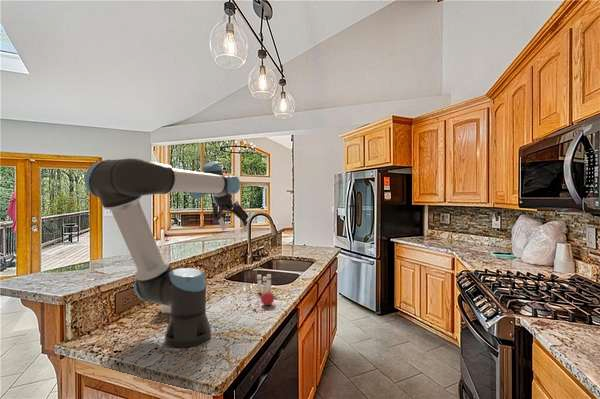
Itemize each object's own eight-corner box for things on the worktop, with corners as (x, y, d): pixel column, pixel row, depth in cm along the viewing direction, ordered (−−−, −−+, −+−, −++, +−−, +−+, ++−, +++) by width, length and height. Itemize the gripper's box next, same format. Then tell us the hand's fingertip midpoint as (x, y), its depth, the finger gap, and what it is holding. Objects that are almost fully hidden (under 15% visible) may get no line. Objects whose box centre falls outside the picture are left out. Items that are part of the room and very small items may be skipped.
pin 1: (261, 292, 159) (261, 275, 159) (257, 293, 159) (257, 275, 159) (261, 291, 161) (261, 274, 161) (257, 292, 161) (257, 274, 161)
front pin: (267, 295, 155) (267, 277, 155) (263, 295, 155) (262, 277, 155) (266, 294, 157) (266, 276, 157) (262, 294, 157) (262, 276, 157)
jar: (160, 308, 137) (160, 281, 137) (179, 305, 141) (179, 279, 141) (161, 314, 129) (161, 286, 129) (182, 311, 133) (182, 283, 133)
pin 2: (271, 292, 160) (271, 275, 160) (267, 292, 160) (267, 275, 160) (270, 291, 162) (270, 274, 162) (266, 291, 162) (266, 274, 162)
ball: (274, 306, 139) (274, 293, 139) (261, 307, 138) (261, 294, 138) (273, 302, 145) (273, 289, 145) (260, 303, 144) (260, 290, 143)
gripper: (247, 189, 143) (259, 226, 153) (205, 189, 154) (219, 224, 164) (238, 197, 137) (252, 235, 147) (196, 197, 148) (211, 232, 158)
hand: (235, 229), depth 155 cm, fingers open, 13 cm apart
